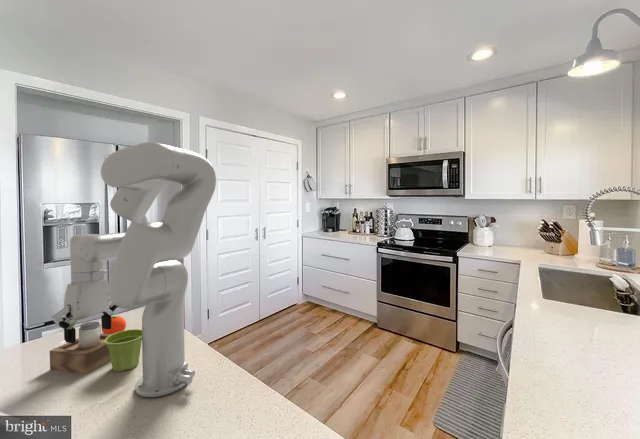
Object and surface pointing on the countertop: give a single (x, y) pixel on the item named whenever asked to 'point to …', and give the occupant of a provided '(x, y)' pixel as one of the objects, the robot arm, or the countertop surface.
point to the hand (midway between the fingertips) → (89, 335)
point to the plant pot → (124, 349)
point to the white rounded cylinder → (89, 335)
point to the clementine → (115, 325)
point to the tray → (79, 357)
